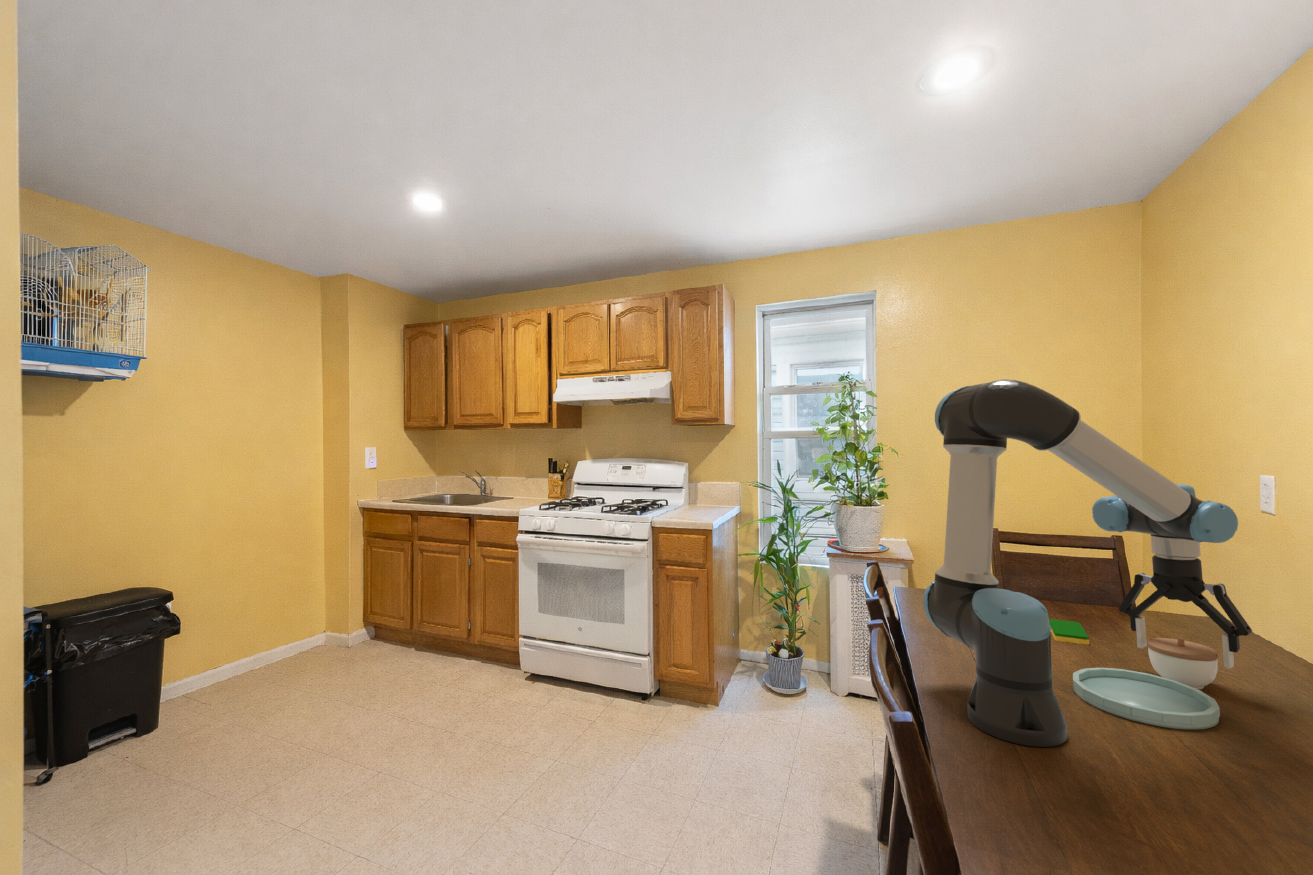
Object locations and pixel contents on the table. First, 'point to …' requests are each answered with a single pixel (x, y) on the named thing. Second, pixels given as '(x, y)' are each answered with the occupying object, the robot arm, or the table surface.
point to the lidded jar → (1183, 661)
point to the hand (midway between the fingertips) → (1183, 656)
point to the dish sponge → (1068, 632)
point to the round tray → (1146, 698)
